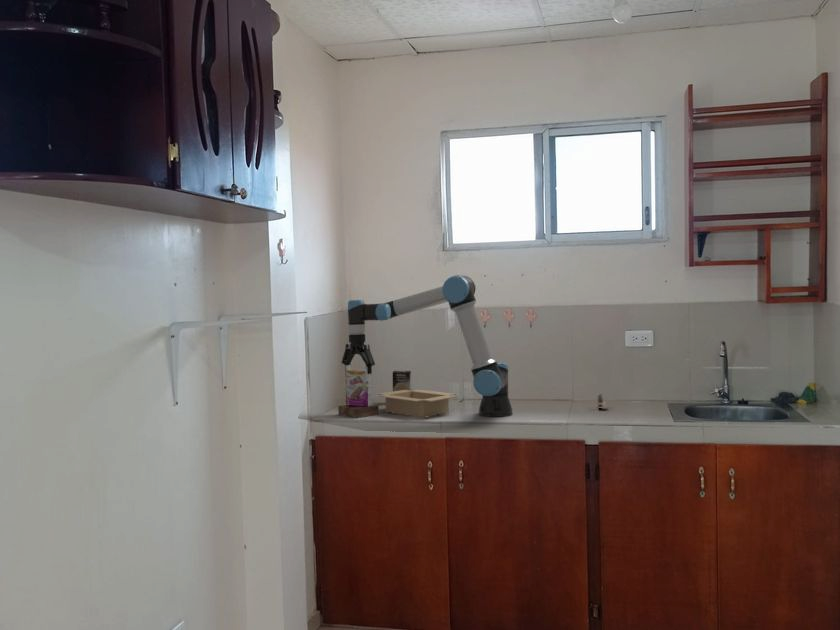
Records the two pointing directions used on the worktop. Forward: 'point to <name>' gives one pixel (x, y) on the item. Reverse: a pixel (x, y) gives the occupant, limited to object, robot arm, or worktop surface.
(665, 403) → the worktop surface
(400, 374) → the coffee box
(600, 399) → the architectural model
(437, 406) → the carton
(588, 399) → the worktop surface
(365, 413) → the plinth
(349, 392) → the candy bar box
